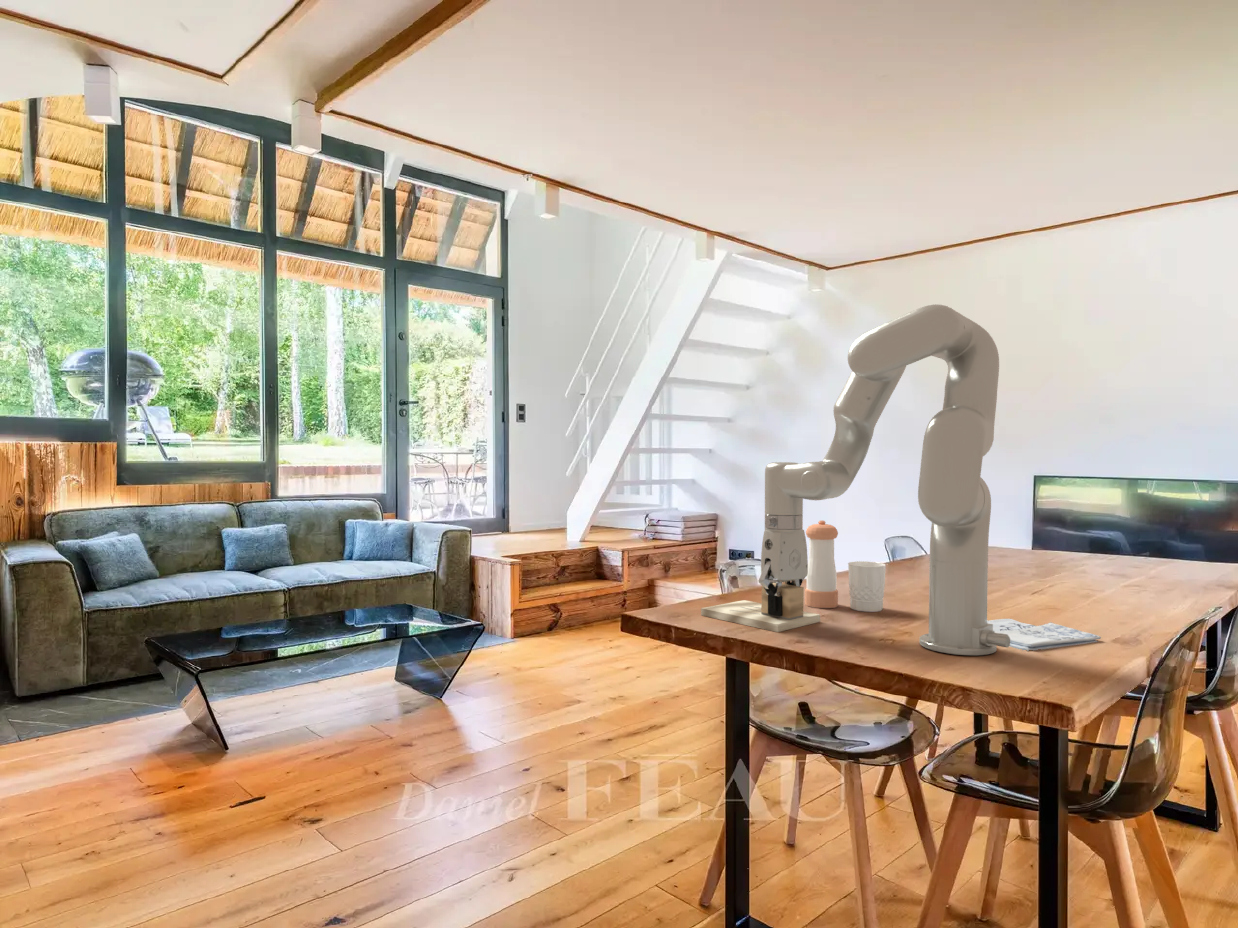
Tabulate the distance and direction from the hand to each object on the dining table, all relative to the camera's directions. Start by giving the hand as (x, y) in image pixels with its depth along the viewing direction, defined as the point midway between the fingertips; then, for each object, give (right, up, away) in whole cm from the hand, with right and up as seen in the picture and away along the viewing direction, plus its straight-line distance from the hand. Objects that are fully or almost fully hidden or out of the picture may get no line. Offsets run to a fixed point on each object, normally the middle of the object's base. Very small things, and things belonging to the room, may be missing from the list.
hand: (783, 612), depth 158 cm
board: (-4, -2, +5) cm, 6 cm away
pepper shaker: (+13, -2, +19) cm, 23 cm away
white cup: (+22, -2, +15) cm, 26 cm away
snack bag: (+43, -3, -9) cm, 44 cm away
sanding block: (0, -1, 0) cm, 1 cm away
